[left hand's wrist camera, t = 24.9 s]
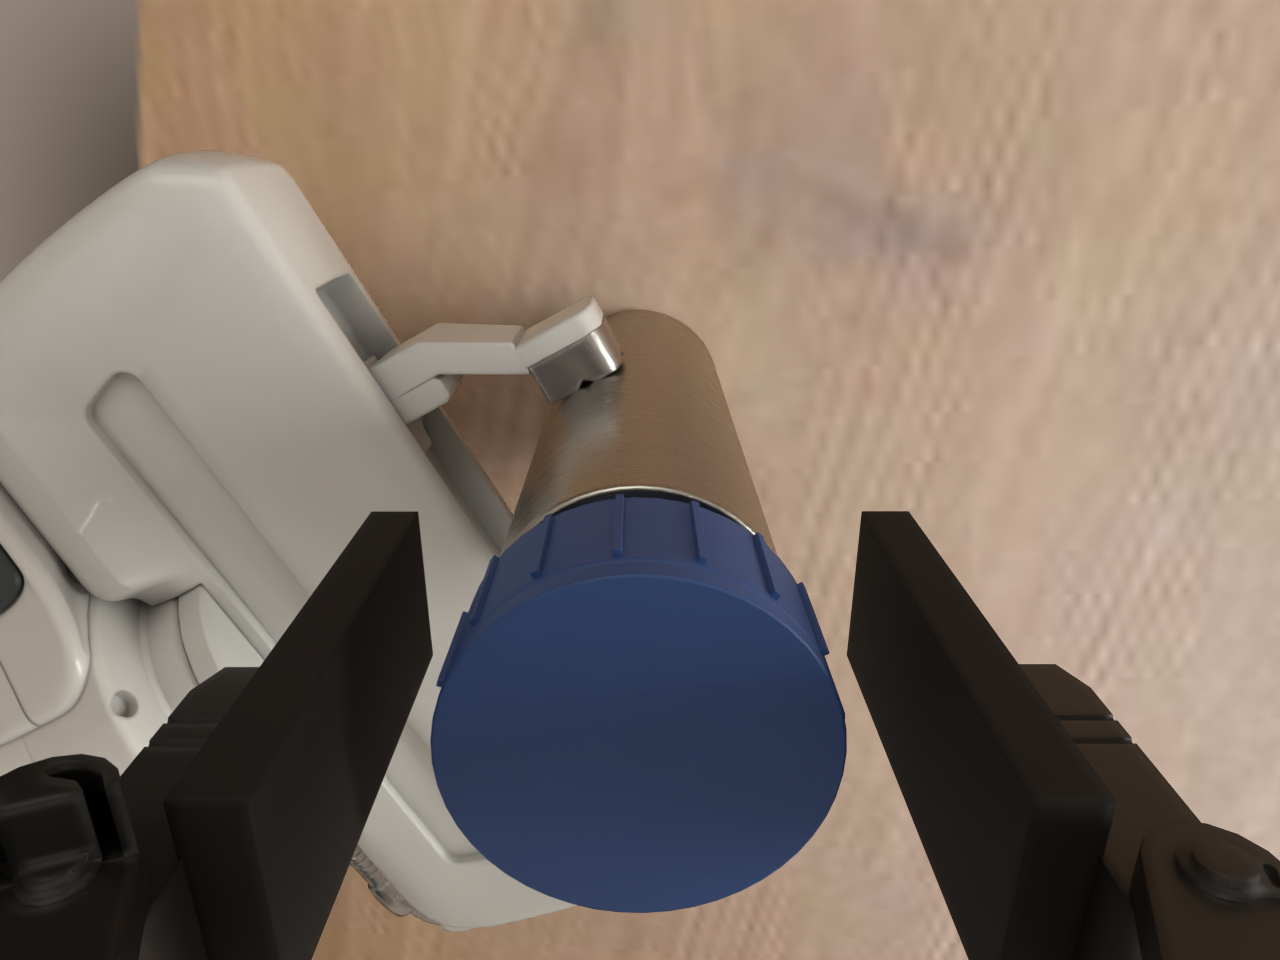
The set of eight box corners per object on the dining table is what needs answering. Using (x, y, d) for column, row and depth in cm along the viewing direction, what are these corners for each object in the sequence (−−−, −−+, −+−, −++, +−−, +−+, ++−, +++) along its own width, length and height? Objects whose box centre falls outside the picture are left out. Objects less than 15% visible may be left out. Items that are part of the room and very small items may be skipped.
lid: (768, 447, 11) (797, 519, 9) (847, 748, 13) (886, 866, 11) (407, 549, 12) (358, 638, 10) (531, 825, 14) (511, 951, 11)
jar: (743, 347, 25) (882, 626, 11) (678, 482, 27) (724, 885, 12) (595, 284, 25) (533, 491, 10) (538, 427, 26) (413, 784, 12)
